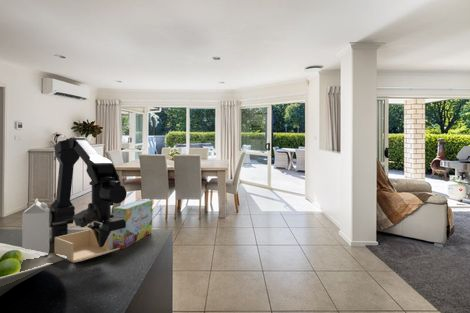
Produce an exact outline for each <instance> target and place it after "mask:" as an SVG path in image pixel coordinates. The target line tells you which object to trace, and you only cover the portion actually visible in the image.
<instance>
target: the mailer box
mask: <svg viewBox="0 0 470 313" xmlns="http://www.w3.org/2000/svg"><path fill="white" fill-rule="evenodd" d="M108 250H109V237H108V238H107V240H106V242H105V244H104V246H103V247H99V245H98V242H97V239H96V236H95V234H94V231H93V230H92V229H90V228H88V229H85V230H80V231H78V232H73V233H68V235H63V236H59V237H55V243H54V255H55V254H60V255H65V256H67V260H66V261H68V262H71V263H73V261H75V260H79V259H82V258H85V257H88V256H92V255H95V254H98V253H102V252H105V251H108Z"/></svg>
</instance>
